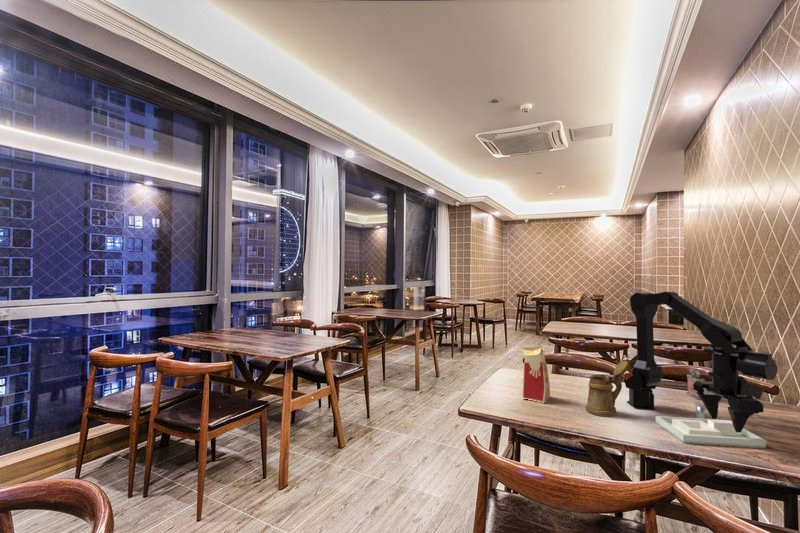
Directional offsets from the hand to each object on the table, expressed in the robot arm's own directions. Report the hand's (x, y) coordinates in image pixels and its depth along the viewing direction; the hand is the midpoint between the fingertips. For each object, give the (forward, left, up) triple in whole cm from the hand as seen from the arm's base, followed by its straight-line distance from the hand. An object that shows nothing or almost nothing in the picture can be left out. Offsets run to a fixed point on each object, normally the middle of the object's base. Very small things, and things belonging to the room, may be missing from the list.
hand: (725, 425), depth 104 cm
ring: (-5, 0, -2) cm, 5 cm away
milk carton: (-47, +25, -3) cm, 53 cm away
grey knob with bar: (+1, +12, -3) cm, 12 cm away
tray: (-5, 0, -3) cm, 6 cm away
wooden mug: (-26, +14, -3) cm, 30 cm away
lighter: (+14, +36, -3) cm, 39 cm away
